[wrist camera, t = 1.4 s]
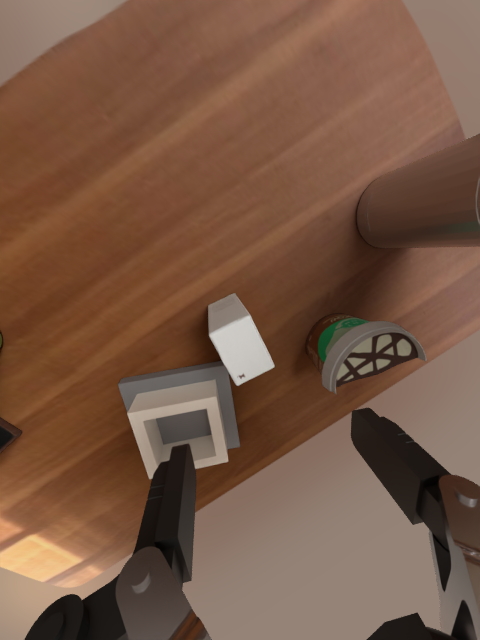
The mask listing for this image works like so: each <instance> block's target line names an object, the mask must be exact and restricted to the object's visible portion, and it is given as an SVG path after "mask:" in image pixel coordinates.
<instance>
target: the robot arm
mask: <svg viewBox="0 0 480 640" xmlns="http://www.w3.org/2000/svg"><path fill="white" fill-rule="evenodd" d="M357 225H358V229H359V232H360V234H361V236H362V237H363V239H364V240H365V241H366V242H367V243H369V244H370V245H371V246H374V247H377V248H427V247H477V246H480V134H477V135H475V136H473V137H471V138H468V139H466V140H464V141H461V142H459V143H457V144H454V145H452V146H450V147H447V148H445V149H443V150H440V151H438V152H436V153H433V154H431V155H429V156H427V157H424V158H422V159H420V160H417V161H415V162H413V163H410V164H408V165H405V166H403V167H401V168H398V169H396V170H394V171H392V172H389V173H387V174H385V175H382V176H380V177H379V178H377V179H376V180H374V181H373V182H372V183H371V184H370V185H369V186H368V187H367V189H366V190H365V192H364V193H363V195H362V197H361V199H360V202H359V205H358V209H357ZM351 421H352V422H351V438H352V441H353V444H354V446H355V448H356V449H357V451H358V452H359V453H360V455H361V456H362V457H363V459H364V460H365V461H366V463H367V464H368V465H369V467H370V468H371V469H372V471H373V472H374V473H375V475H376V476H377V477H378V479H379V480H380V481H381V483H382V484H383V485H384V487H385V488H386V489H387V491H388V492H389V493H390V495H391V496H392V498H393V499H394V500H395V502H396V503H397V504H398V506H399V507H400V508H401V510H402V511H403V512H404V514H405V515H406V516H407V518H408V519H409V520H410V522H411V523H412V524H413V525H414V524H418V523H421V522H424V523H425V524H426V525H427V527H428V528H429V539H430V544H431V550H432V556H433V562H434V568H435V574H436V580H437V585H438V591H439V599H440V626H441V631H439V630H436V629H433V628H429V627H425V625H424V623H423V622H422V620H421V618H420V616H419V614H418V613H414V614H411V615H408V616H404V617H401V618H398V619H394V620H391V621H387V622H385V623H384V624H383V625H382V626H380V627H379V628H378V629H377V630H376V631H375V632H374V633H373V634H372V635H371V636H370V637H369V638H368V639H367V640H480V486H478V485H477V484H475V483H474V482H472V481H470V480H468V479H466V478H464V477H460V476H457V475H451V474H450V473H449V472H448V471H447V470H446V469H444V467H442V466H441V465H440V464H439V463H438V462H437V461H436V460H435V459H434V458H433V457H431V455H429V454H428V453H427V452H426V451H425V450H424V449H422V447H421V446H419V444H417V443H416V442H414V440H413V439H412V438H411V437H410V436H409V435H407V434H406V433H405V432H404V431H403V430H402V429H401V428H400V427H399V426H398V425H397V424H396V423H394V422H392V421H390V420H388V419H387V418H385V417H379V416H378V415H377V414H376V413H375V412H374V411H373V410H372V409H370V408H364V409H359V410H354V411H352V420H351ZM195 499H196V470H195V465H194V461H193V456H192V452H191V448H190V445H189V443H188V444H183V445H178V446H173V447H172V449H171V454H170V459H169V461H165V462H161V463H160V464H159V466H158V468H157V469H156V471H155V472H154V474H153V478H152V482H151V486H150V490H149V494H148V501H147V502H146V506H145V510H144V515H143V519H142V523H141V527H140V531H139V535H138V539H137V543H136V547H135V550H134V552H133V555H132V557H131V558H130V559H129V560H128V561H127V563H126V564H125V565H124V567H123V569H122V571H121V573H120V574H119V575H118V576H117V577H116V578H114V579H113V580H112V581H111V582H110V583H108V584H106V585H105V586H103V587H102V588H100V589H99V590H97V591H96V592H94V593H92V594H91V595H89V596H88V597H86V598H85V599H83V600H81V598H80V597H79V596H78V595H75V594H70V595H66V596H64V597H61V598H60V599H58V600H56V601H55V602H54V603H52V604H51V605H50V606H49V607H48V608H47V609H46V610H45V611H44V612H43V613H42V614H41V615H40V616H39V618H38V619H37V621H35V623H34V624H33V626H32V627H31V629H30V631H29V632H28V634H27V636H26V638H25V640H212V639H211V637H210V636H209V634H208V632H207V630H206V629H205V627H204V625H203V623H202V622H201V620H200V619H199V618H198V617H197V616H196V614H195V613H194V611H193V609H192V608H191V606H190V604H189V602H188V600H187V598H186V596H185V594H184V593H183V591H182V586H183V583H184V582H188V581H191V577H192V557H193V538H194V519H195Z"/></svg>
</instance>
